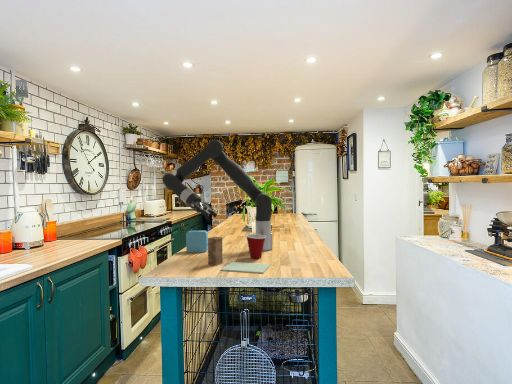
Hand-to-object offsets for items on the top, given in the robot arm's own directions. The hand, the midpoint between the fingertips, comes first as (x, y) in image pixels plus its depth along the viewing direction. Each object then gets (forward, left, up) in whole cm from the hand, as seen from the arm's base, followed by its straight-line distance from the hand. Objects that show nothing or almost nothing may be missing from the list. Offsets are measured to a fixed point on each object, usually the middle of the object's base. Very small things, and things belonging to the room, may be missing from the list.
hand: (212, 215), depth 165 cm
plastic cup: (-23, +3, -23) cm, 33 cm away
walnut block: (0, +8, -23) cm, 24 cm away
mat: (-12, +21, -23) cm, 33 cm away
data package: (+4, -25, -23) cm, 34 cm away
